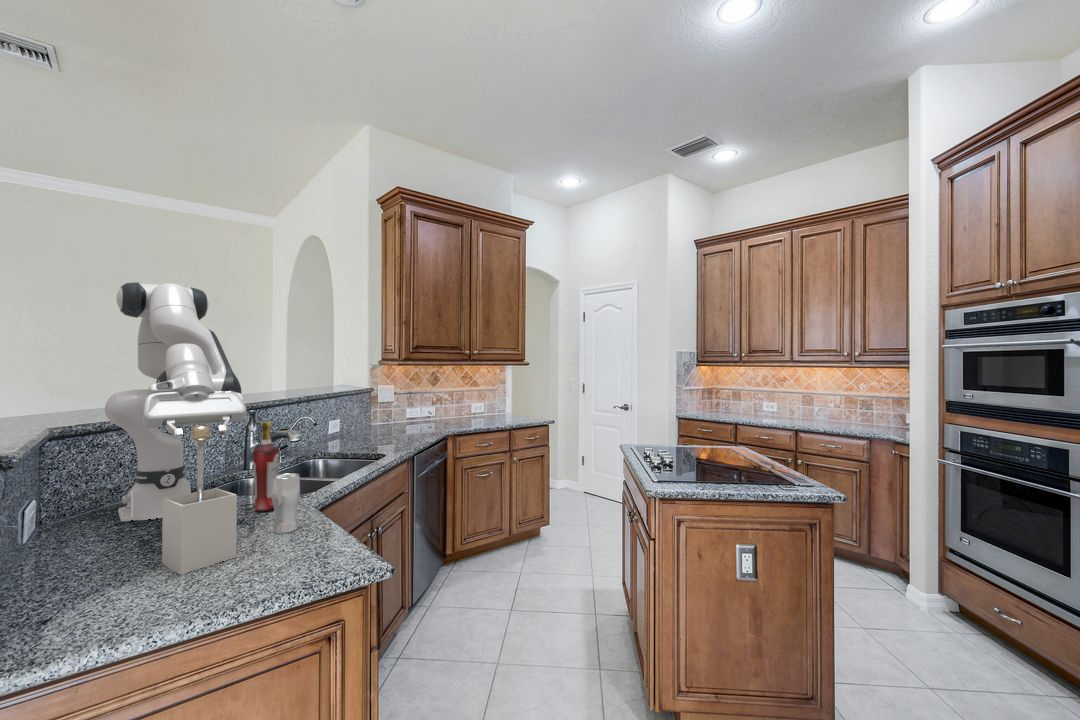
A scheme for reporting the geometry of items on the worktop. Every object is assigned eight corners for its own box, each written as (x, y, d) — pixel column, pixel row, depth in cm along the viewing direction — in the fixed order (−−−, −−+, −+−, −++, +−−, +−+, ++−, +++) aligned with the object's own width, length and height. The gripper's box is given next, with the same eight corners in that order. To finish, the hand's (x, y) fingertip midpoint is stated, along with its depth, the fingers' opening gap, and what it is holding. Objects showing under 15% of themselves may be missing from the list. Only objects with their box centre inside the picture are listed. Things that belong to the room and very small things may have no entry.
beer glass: (287, 534, 124) (287, 479, 124) (265, 533, 125) (265, 478, 126) (305, 526, 131) (305, 473, 131) (284, 524, 132) (284, 472, 133)
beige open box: (162, 563, 106) (162, 498, 106) (216, 547, 115) (216, 488, 116) (180, 575, 100) (181, 506, 100) (236, 557, 109) (236, 494, 109)
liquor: (259, 506, 150) (260, 421, 150) (283, 505, 151) (283, 420, 151) (247, 513, 142) (248, 423, 143) (272, 512, 143) (273, 423, 144)
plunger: (170, 510, 107) (171, 427, 107) (213, 501, 114) (213, 423, 114) (185, 517, 102) (186, 429, 102) (228, 507, 109) (229, 425, 109)
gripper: (238, 398, 124) (249, 438, 117) (138, 403, 109) (143, 449, 102) (243, 382, 121) (254, 422, 114) (141, 385, 106) (147, 431, 99)
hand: (201, 435), depth 108 cm, fingers open, 7 cm apart
